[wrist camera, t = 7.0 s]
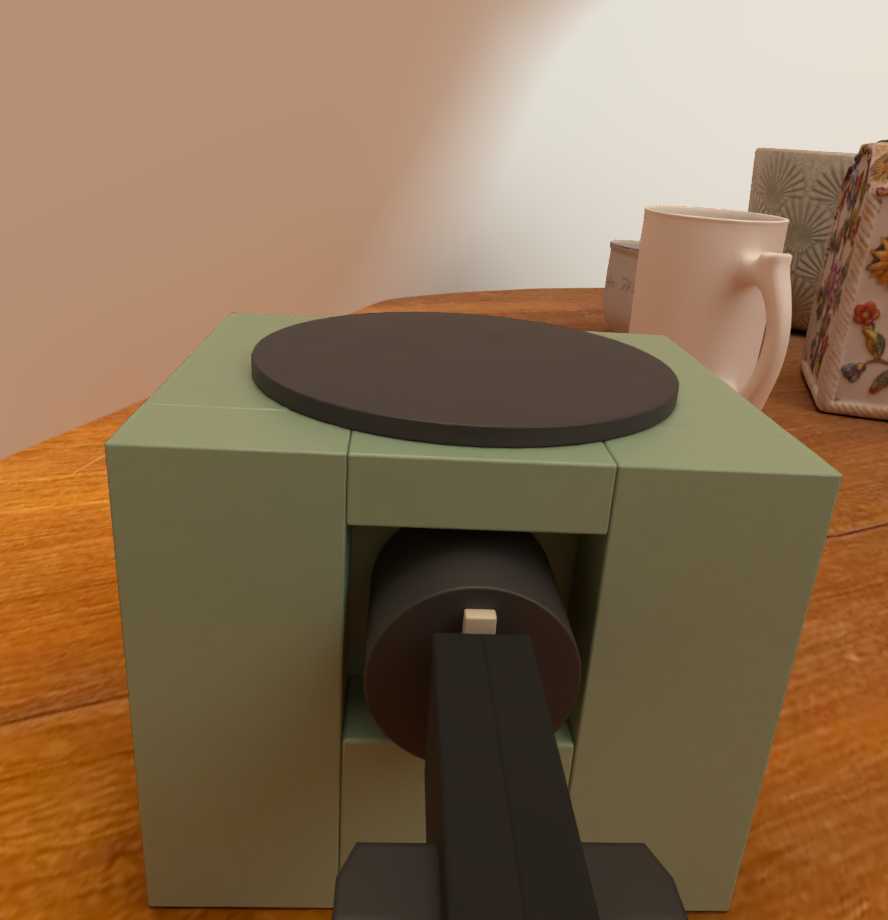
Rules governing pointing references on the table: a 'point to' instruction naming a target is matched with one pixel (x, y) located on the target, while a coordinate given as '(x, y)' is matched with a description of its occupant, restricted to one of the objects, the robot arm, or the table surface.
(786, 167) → the planter
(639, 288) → the mug
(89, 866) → the table surface
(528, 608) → the knob
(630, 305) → the teacup
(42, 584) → the table surface
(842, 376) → the decorative jar
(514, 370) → the warmer
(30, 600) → the table surface
